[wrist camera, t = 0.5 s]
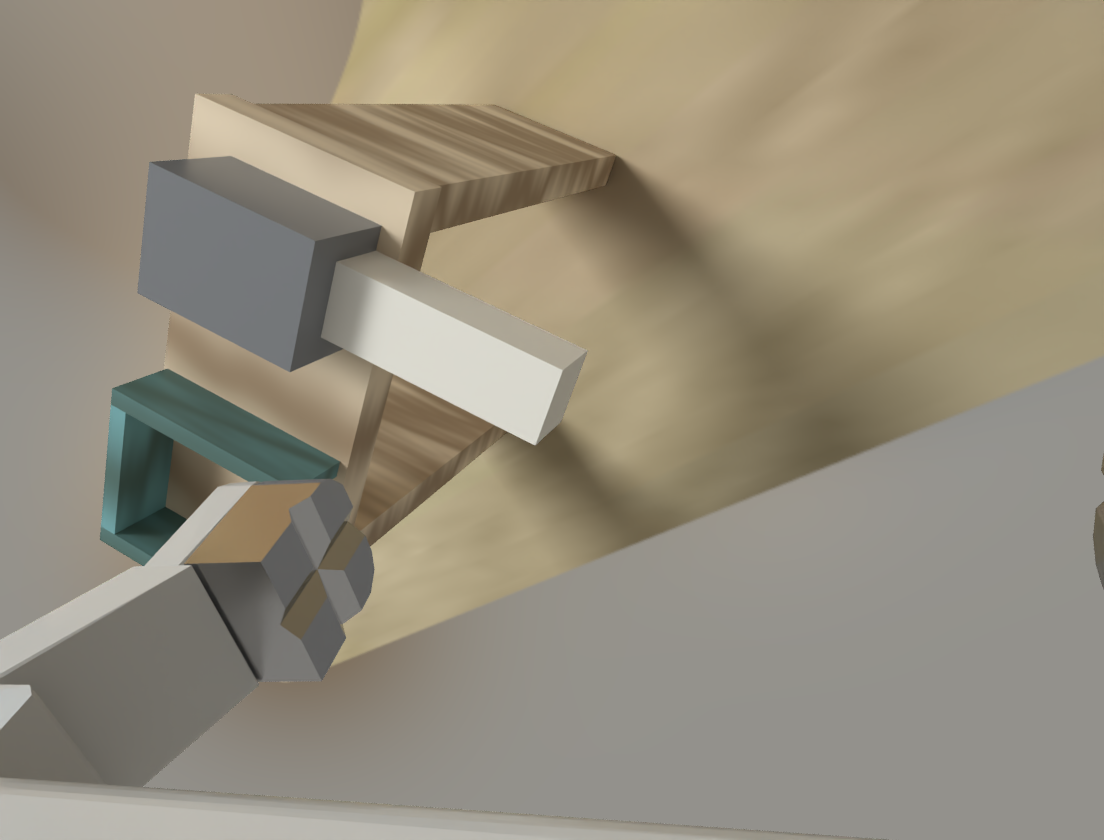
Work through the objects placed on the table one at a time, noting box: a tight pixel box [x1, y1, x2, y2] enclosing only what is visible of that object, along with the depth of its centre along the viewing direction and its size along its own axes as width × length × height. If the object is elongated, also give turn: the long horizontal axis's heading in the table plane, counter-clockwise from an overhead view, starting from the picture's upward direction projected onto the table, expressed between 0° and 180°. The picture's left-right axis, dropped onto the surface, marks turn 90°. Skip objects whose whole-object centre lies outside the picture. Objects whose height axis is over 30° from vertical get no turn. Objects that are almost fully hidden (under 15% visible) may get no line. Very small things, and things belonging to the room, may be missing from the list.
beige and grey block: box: [138, 156, 588, 445], centre depth 30 cm, size 16×5×4 cm, turn 70°
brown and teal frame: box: [100, 94, 616, 566], centre depth 45 cm, size 20×10×29 cm, turn 160°
